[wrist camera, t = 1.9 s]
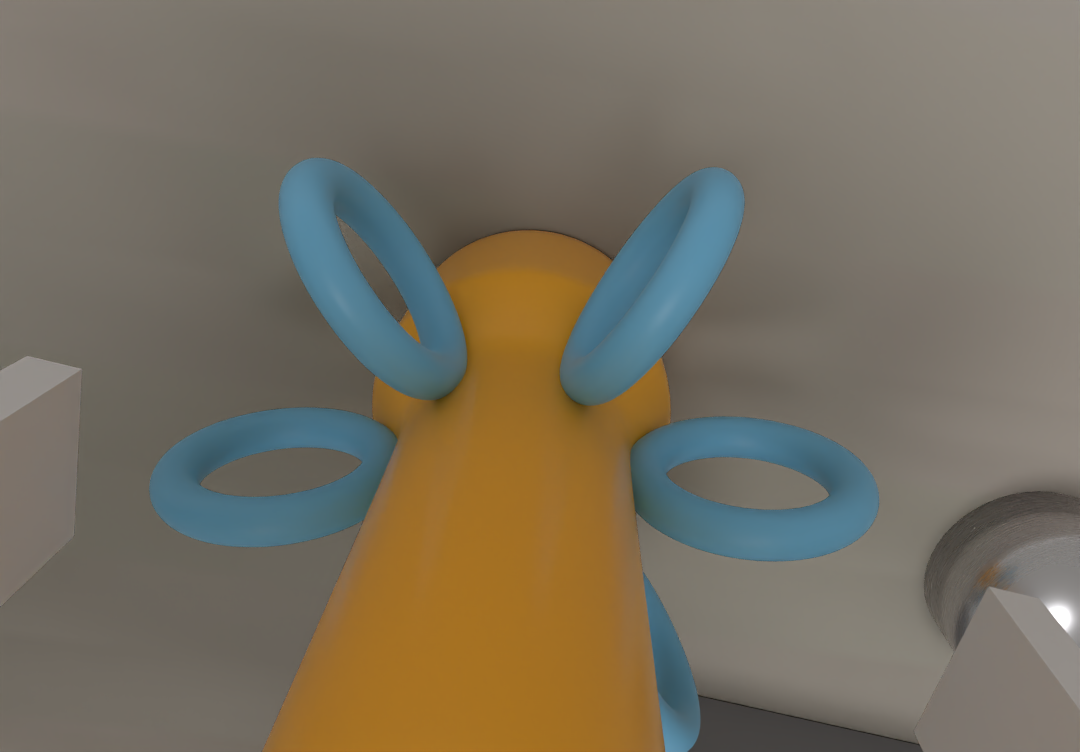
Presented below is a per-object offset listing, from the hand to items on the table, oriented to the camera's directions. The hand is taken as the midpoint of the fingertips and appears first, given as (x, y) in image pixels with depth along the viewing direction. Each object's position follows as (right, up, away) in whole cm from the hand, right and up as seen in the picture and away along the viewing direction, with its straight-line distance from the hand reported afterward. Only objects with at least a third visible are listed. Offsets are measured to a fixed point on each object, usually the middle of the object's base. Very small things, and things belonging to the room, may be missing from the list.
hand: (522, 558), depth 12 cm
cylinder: (0, +3, +9) cm, 9 cm away
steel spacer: (+13, -3, +10) cm, 17 cm away
